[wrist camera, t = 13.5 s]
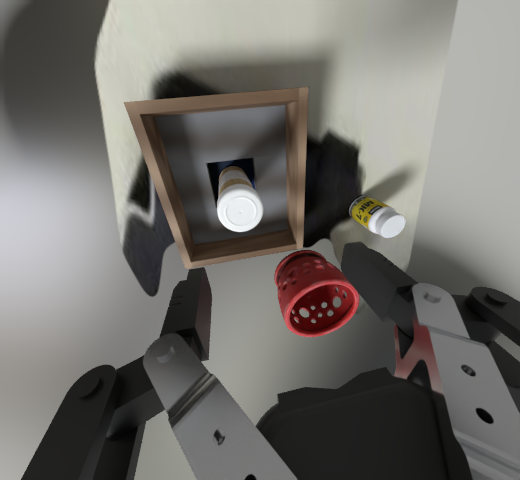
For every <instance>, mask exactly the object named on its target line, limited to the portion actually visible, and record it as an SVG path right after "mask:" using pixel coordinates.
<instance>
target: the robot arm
mask: <svg viewBox="0 0 520 480" xmlns="http://www.w3.org/2000/svg"><path fill="white" fill-rule="evenodd" d="M341 270H342V273H343V275H344V276H345V277H346V278H347V280H348V281H349V282H350V283H351V284H352V286H353V287H354V288H355V289H356V290H357V292H358V293H359V294H360V295H361V296H362V298H363V299H364V300H365V301H366V303H367V304H368V305H369V306H370V307H371V309H372V310H373V311H374V312H375V313H376V315H377V316H378V317H379V318H380V319H381V321H382V322H386V321H391V320H393V321H394V322H395V326H394V336H395V347H396V361H397V365H396V371H395V376H392V375H391V374H390V372H389V371H388V369H387V368H386V367H384V368H380V369H376V370H372V371H368V372H364V373H360V374H359V375H358V376H356V377H355V378H353V379H352V380H350V381H349V382H347V383H346V384H345V385H343V386H342V387H340V388H338V389H324V388H310V387H305V388H300V389H296V390H292V391H288V392H284V393H280V394H277V398H278V403H277V404H275V405H274V406H273V407H271V408H270V409H269V410H268V411H267V412H266V413H265V414H264V415H263V416H262V417H261V419H260V420H259V422H258V423H257V425H256V426H255V425H254V424H253V423H252V421H251V420H250V419H249V418H248V416H247V415H246V414H245V413H244V411H243V410H242V409H241V407H240V406H239V405H238V404H237V403H236V401H235V400H234V399H233V398H232V396H231V395H230V394H229V393H228V391H227V390H226V389H225V387H224V386H223V385H222V384H221V382H220V381H219V380H218V379H217V378H216V376H215V375H213V374H211V373H210V372H209V371H208V370H207V369H206V367H205V366H204V365H203V364H202V362H201V361H205V360H209V359H208V358H209V342H210V324H211V306H212V294H211V288H210V284H209V281H208V278H207V274H206V271H205V268H204V267H202V268H196V269H191V270H189V272H188V276H187V280H184V281H180V282H179V283H178V284H177V286H176V287H175V288H174V290H173V293H172V297H171V300H170V303H169V307H168V310H167V314H166V317H165V320H164V324H163V327H162V331H161V334H160V337H159V338H158V339H157V340H155V341H154V342H153V343H152V344H151V345H150V346H149V348H148V349H147V351H146V353H145V355H143V356H142V357H140V358H138V359H137V360H135V361H133V362H131V363H129V364H127V365H125V366H123V367H121V368H119V369H117V370H115V368H114V367H113V366H111V365H101V366H98V367H96V368H93V369H92V370H90V371H88V372H87V373H85V374H84V375H83V376H81V377H80V378H79V379H78V380H77V381H76V382H75V383H74V384H73V386H72V387H71V388H70V389H69V391H68V392H67V394H66V396H65V398H64V400H63V402H62V403H61V405H60V407H59V409H58V411H57V413H56V415H55V416H54V419H53V420H52V422H51V424H50V426H49V428H48V430H47V432H46V433H45V435H44V437H43V439H42V441H41V443H40V445H39V447H38V448H37V450H36V452H35V454H34V456H33V458H32V460H31V462H30V463H29V465H28V467H27V469H26V471H25V473H24V475H23V477H22V479H21V480H134V476H135V472H136V467H137V462H138V457H139V452H140V448H141V443H142V438H143V433H144V429H145V424H146V421H148V420H149V419H151V418H152V417H154V416H155V415H157V414H158V413H160V412H162V411H163V410H166V412H167V414H168V416H169V419H168V420H169V423H170V425H171V428H172V430H173V432H174V434H175V436H176V438H177V440H178V442H179V444H180V446H181V448H182V451H183V453H184V454H185V457H186V459H187V460H188V463H189V465H190V467H191V469H192V471H193V473H194V475H195V477H196V479H197V480H520V414H519V413H520V362H519V361H518V360H517V359H515V358H514V357H513V356H512V355H510V354H509V353H508V352H507V351H506V350H504V349H503V348H502V347H501V346H499V345H498V344H497V343H496V342H495V341H494V340H495V339H496V338H497V337H498V336H499V335H500V334H501V333H503V334H504V335H505V336H507V337H508V338H509V339H511V340H512V341H513V342H514V343H516V344H517V345H518V346H520V302H519V301H517V300H515V299H513V298H512V297H510V296H509V295H507V294H505V293H503V292H500V291H498V290H495V289H491V288H487V287H475V288H473V289H472V290H471V292H470V293H469V294H468V296H462V295H450V294H449V293H447V292H446V291H444V290H443V289H441V288H439V287H436V286H434V285H430V284H424V283H417V282H416V281H415V280H413V279H412V278H411V277H410V276H408V275H407V274H406V273H405V272H403V271H402V270H401V269H400V268H398V267H397V266H396V265H394V264H393V263H392V262H391V261H389V260H387V258H386V257H384V256H383V255H382V254H381V253H379V252H377V251H374V250H372V249H369V248H368V247H367V246H365V245H364V244H363V243H362V242H354V243H348V244H346V245H345V246H344V251H343V256H342V262H341Z"/></svg>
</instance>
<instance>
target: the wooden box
mask: <svg viewBox="0 0 520 480" xmlns="http://www.w3.org/2000/svg"><path fill="white" fill-rule="evenodd" d="M124 104H125V107H126V110H127V112H128V115H129V118H130V120H131V123H132V126H133V128H134V131H135V134H136V137H137V139H138V142H139V145H140V147H141V150H142V153H143V155H144V158H145V161H146V163H147V166H148V169H149V171H150V174H151V177H152V179H153V182H154V185H155V188H156V190H157V193H158V196H159V198H160V201H161V204H162V206H163V209H164V212H165V214H166V217H167V220H168V222H169V225H170V228H171V230H172V233H173V236H174V239H175V241H176V244H177V247H178V249H179V252H180V255H181V257H182V259H183V263H184V265H185V268H186V269H188V268H194V267H200V266H205V265H211V264H217V263H222V262H228V261H234V260H239V259H245V258H251V257H256V256H262V255H268V254H273V253H279V252H285V251H290V250H296V249H302V248H303V231H304V202H305V173H306V144H307V115H308V87H302V88H290V89H278V90H266V91H254V92H242V93H230V94H218V95H206V96H194V97H182V98H170V99H158V100H146V101H134V102H124ZM245 158H252V163H253V173H254V183H255V191H256V192H257V193H258V195H259V197H260V198H261V201H262V203H263V216H262V218H261V220H260V222H259V223H258V224H257V225H256V226H255V227H254V228H252V229H250V230H248V231H244V232H236V231H232V230H230V229H228V228H226V227H225V226H224V225H223V224H222V223H221V221H220V220H219V217H218V214H217V204H216V200H215V195H214V191H213V186H212V182H211V177H210V172H209V168H208V163H212V162H220V161H229V160H237V159H245Z"/></svg>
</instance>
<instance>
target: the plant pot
mask: <svg viewBox="0 0 520 480" xmlns="http://www.w3.org/2000/svg"><path fill="white" fill-rule="evenodd" d="M275 283H276V285H277V287H278V300H279V304H280V308H281V312H282V315H283V318H284V321H285V323H286V325H287V327H288V328H289V330H290V331H292V332H293V333H295V334H297V335H300V336H304V337H315V336H321V335H324V334H328V333H330V332H332V331H335V330H336V329H338V328H340V327H341V326H343V325H344V324H345V323H346V322H348V321H349V320H350V319H351V317H352V316H353V315H354V313H355V312H356V310H357V308H358V305H359V293H358V292H357V290H356V289H355V288H354V287H353V286H352V284H351V283H350V282H349V281H348V280H347V278H346V277H345V276H344V275H343V273H342V272H341V271H340V270H339V269H338V268H336V267H335V266H333V265H332V264H330V263H329V262H327V261H326V259H325V258H324V257H323V256H322V255H321V254H319V253H318V252H315V251H311V250H301V251H297V252H294V253H292V254H290V255H288V256H286V257H285V258H284V259H283V260H282V261H281V262H280V263H279V265H278V266H277V268H276V271H275ZM336 287H337V288H338V289H339V291H338V292H337V290H336ZM344 292H346V293H347V297H345V294H344ZM335 297H339V298H340V299H341V306H340V307H338V308H335V307H334V306H333V300H334V298H335ZM323 302H326V303H327V307H326V308H322V307H321V304H322V303H323ZM311 306H314V307H315V309H314V310H312V309H311ZM300 309H304V310H307V311H308V312H309V317H307V318H304V317H302V316H301V315H300V313H299V310H300ZM329 310H332V311H333V312H334V314H333V315H332V316H328V315H327V313H328V311H329ZM292 311H293V312H294V314H293V313H292ZM319 313H321V314H322V317H318V314H319ZM294 318H295V319H297V320H298V322H299V323H297V322H296V321H295V320H294ZM311 320H316V323H312V322H311Z"/></svg>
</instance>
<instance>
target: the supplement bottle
mask: <svg viewBox="0 0 520 480" xmlns="http://www.w3.org/2000/svg"><path fill="white" fill-rule="evenodd" d="M349 214H350V216H351V217H352V218H353V219H354V220H355V221H357V222H358V223H360V224H361V225H363V226H364V227H365V228H367V229H368V230H370V231H371V232H373V233H377V234H380V235H381V236H383V237H385V238H391V237H394V236H396V235H397V234H399V233H400V232H401V231H402V229H403V228H404V226H405V218H404V217H403V216H402V215H400V214H398V213H396V211H395V209H393V208H392V207H390V206H388V205H386V204H384V203H381V202H379V201H377V200H375V199H373V198H371V197H368V196H361V197H359V198H357V199H356V200H354V201H353V203H352V204H351V206H350V209H349Z"/></svg>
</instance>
